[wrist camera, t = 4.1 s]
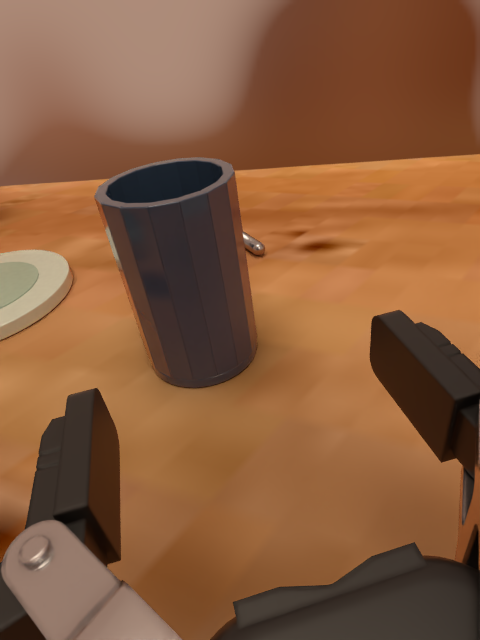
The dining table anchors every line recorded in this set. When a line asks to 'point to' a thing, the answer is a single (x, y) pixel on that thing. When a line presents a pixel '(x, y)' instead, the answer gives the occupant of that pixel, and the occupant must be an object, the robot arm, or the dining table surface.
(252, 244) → the spoon
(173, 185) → the tumbler
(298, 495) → the dining table surface
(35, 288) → the side plate
